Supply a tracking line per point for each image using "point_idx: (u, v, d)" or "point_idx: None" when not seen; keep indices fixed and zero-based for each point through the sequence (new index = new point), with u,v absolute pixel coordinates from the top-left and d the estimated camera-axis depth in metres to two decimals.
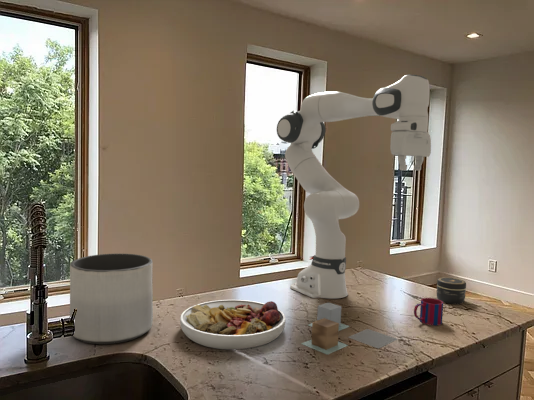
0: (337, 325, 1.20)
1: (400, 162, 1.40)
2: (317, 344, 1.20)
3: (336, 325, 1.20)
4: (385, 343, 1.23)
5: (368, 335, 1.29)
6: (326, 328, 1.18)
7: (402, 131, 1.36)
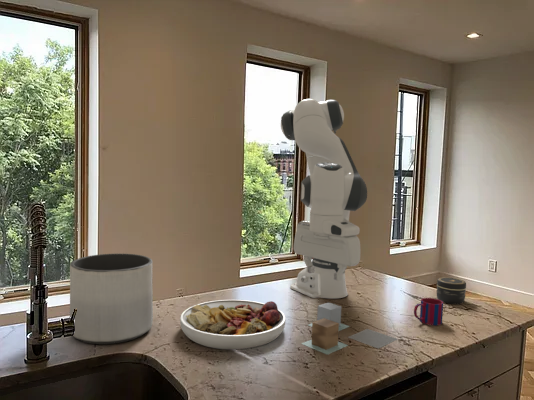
0: (337, 325, 1.20)
1: (341, 272, 1.15)
2: (317, 344, 1.20)
3: (336, 325, 1.20)
4: (385, 343, 1.23)
5: (368, 335, 1.29)
6: (326, 328, 1.18)
7: (354, 236, 1.13)
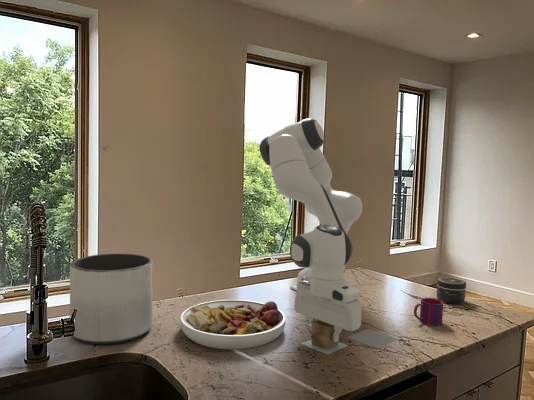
0: None
1: (337, 333, 1.18)
2: (317, 344, 1.20)
3: None
4: (385, 343, 1.23)
5: (368, 335, 1.29)
6: (326, 328, 1.18)
7: (355, 301, 1.15)
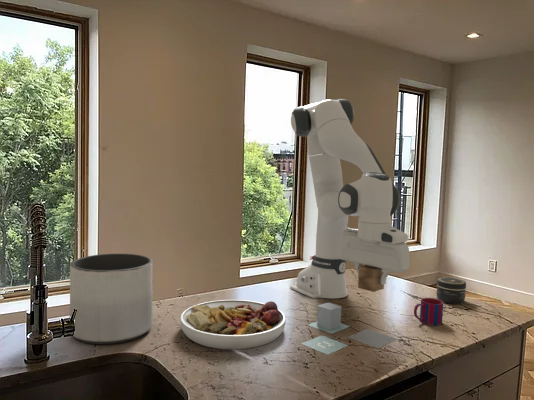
0: None
1: (385, 276, 1.21)
2: (364, 287, 1.23)
3: None
4: (385, 343, 1.23)
5: (368, 335, 1.29)
6: (374, 271, 1.21)
7: (403, 243, 1.18)
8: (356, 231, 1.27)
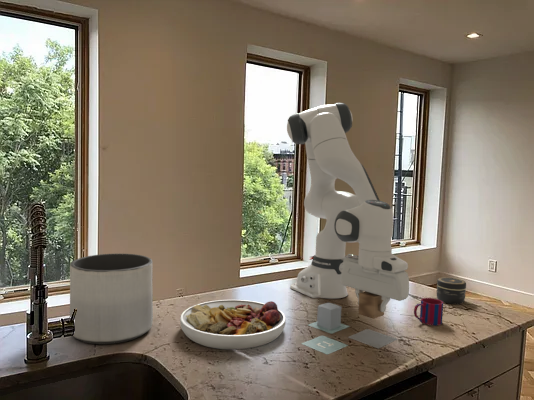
0: None
1: (385, 303, 1.22)
2: (364, 314, 1.25)
3: None
4: (385, 343, 1.23)
5: (368, 335, 1.29)
6: (374, 298, 1.22)
7: (403, 272, 1.19)
8: (357, 257, 1.28)
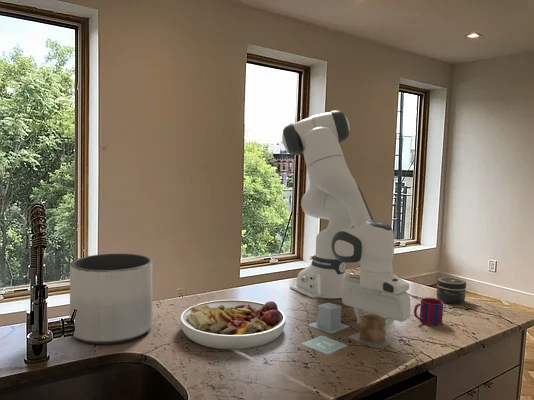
0: (384, 319, 1.26)
1: (389, 325, 1.22)
2: (366, 338, 1.25)
3: (384, 319, 1.26)
4: (385, 343, 1.23)
5: None
6: (375, 322, 1.23)
7: (405, 293, 1.20)
8: (358, 277, 1.29)
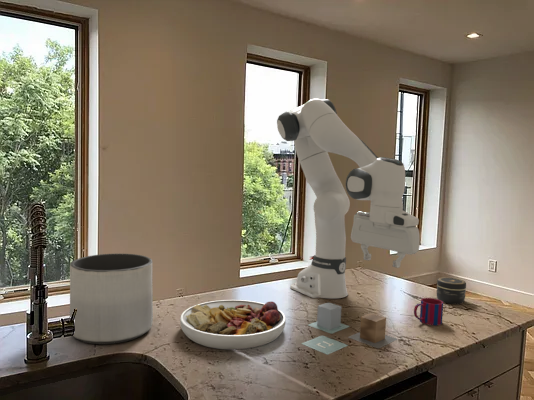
0: (384, 319, 1.26)
1: (400, 259, 1.24)
2: (366, 338, 1.25)
3: (384, 319, 1.26)
4: (385, 343, 1.23)
5: None
6: (375, 322, 1.23)
7: (414, 227, 1.22)
8: (368, 214, 1.31)
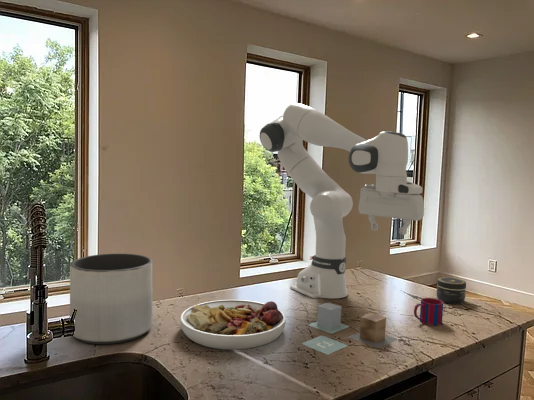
0: (384, 319, 1.26)
1: (406, 226, 1.31)
2: (366, 338, 1.25)
3: (384, 319, 1.26)
4: (385, 343, 1.23)
5: None
6: (375, 322, 1.23)
7: (418, 195, 1.29)
8: (374, 186, 1.38)
